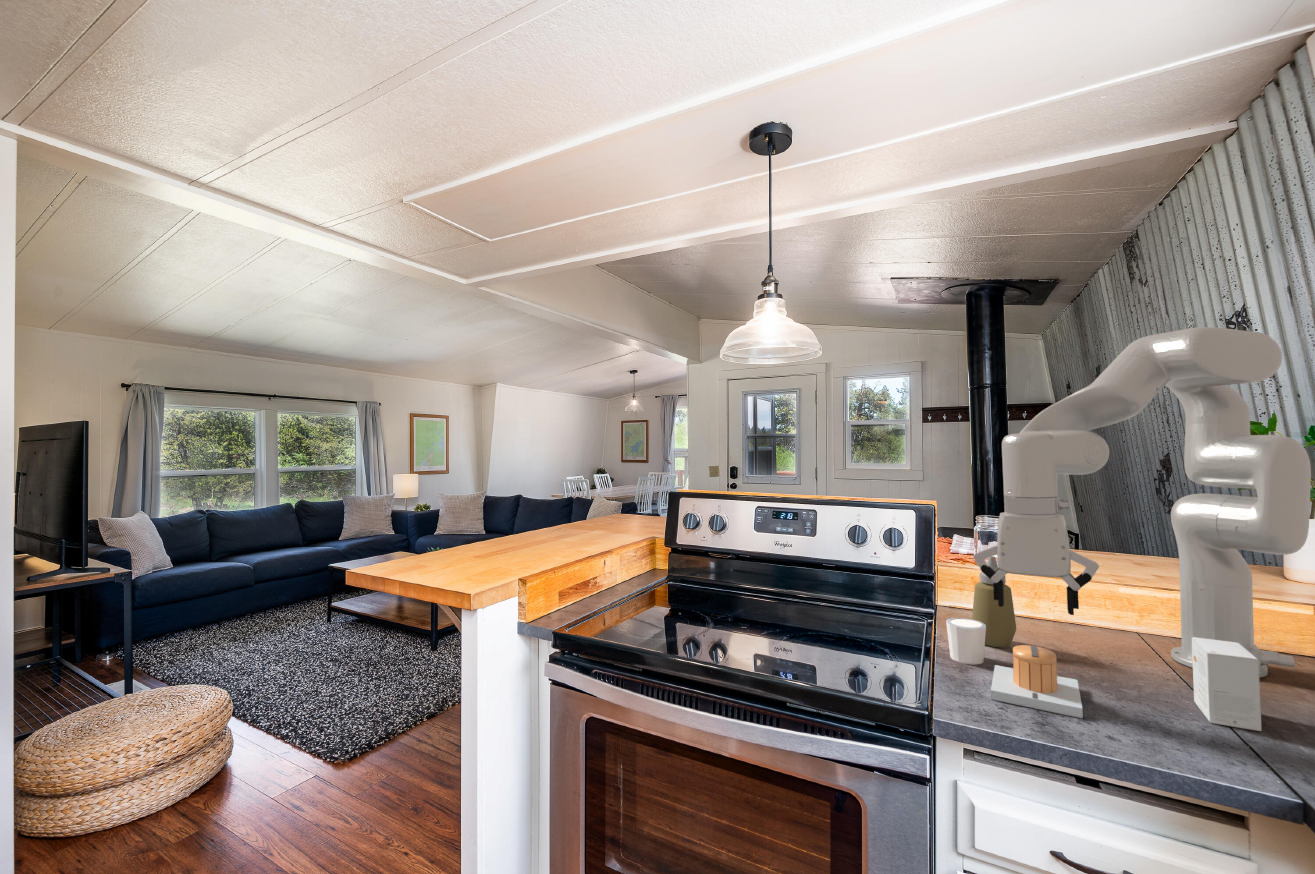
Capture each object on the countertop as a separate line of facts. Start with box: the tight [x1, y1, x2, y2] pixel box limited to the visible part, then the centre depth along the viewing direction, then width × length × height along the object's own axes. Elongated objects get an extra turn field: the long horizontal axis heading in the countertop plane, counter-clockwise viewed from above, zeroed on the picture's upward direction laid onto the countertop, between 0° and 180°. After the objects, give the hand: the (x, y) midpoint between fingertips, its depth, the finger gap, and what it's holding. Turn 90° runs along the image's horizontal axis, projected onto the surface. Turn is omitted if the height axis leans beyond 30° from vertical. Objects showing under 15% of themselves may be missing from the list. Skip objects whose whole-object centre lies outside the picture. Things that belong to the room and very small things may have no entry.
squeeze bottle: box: [971, 556, 1017, 648], centre depth 116 cm, size 8×8×18 cm
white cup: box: [945, 617, 986, 665], centre depth 108 cm, size 7×7×7 cm
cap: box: [1012, 644, 1058, 693], centre depth 93 cm, size 6×6×6 cm
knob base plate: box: [990, 664, 1084, 719], centre depth 93 cm, size 12×12×6 cm
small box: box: [1192, 637, 1263, 732], centre depth 84 cm, size 8×6×10 cm
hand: (1035, 608), depth 93 cm, fingers open, 9 cm apart
